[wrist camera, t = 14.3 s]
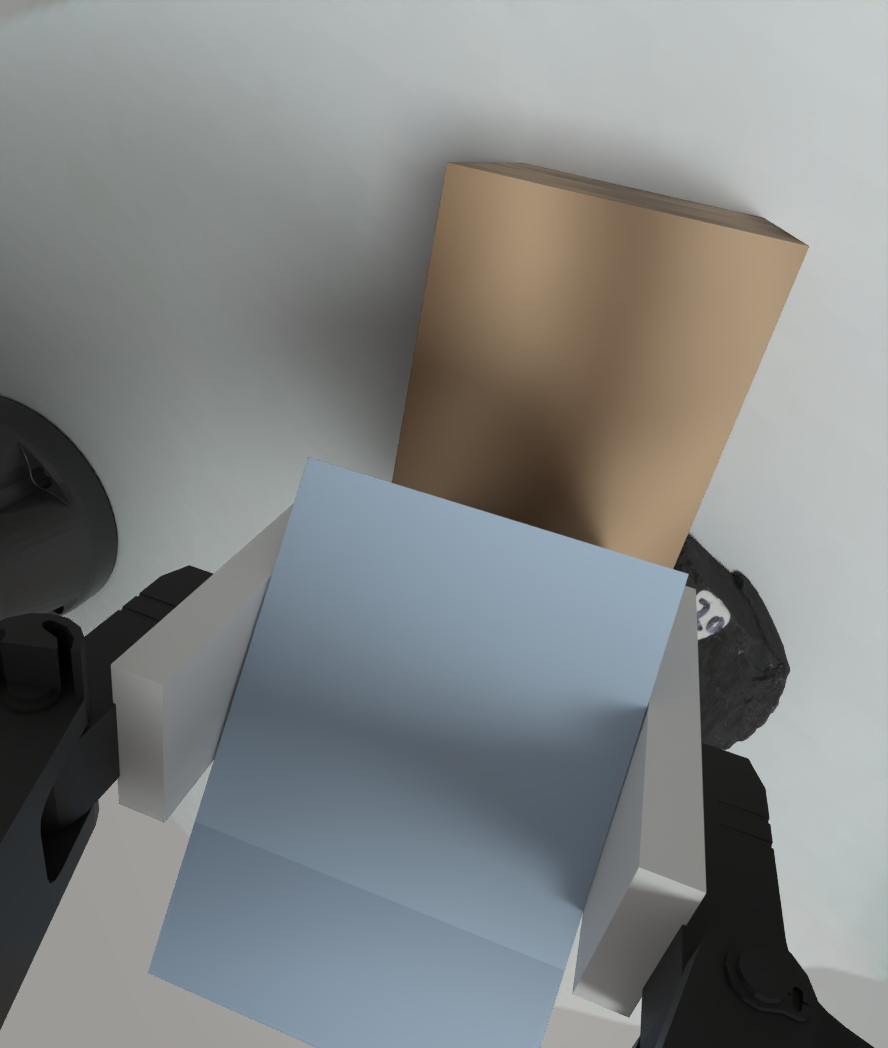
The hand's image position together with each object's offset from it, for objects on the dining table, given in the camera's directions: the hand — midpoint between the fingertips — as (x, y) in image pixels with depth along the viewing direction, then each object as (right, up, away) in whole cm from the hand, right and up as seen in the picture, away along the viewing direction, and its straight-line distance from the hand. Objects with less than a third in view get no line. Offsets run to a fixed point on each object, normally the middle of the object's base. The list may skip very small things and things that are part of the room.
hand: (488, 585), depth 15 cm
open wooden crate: (+6, +9, +18) cm, 21 cm away
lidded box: (+1, +1, +3) cm, 3 cm away
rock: (+12, -4, +22) cm, 26 cm away
